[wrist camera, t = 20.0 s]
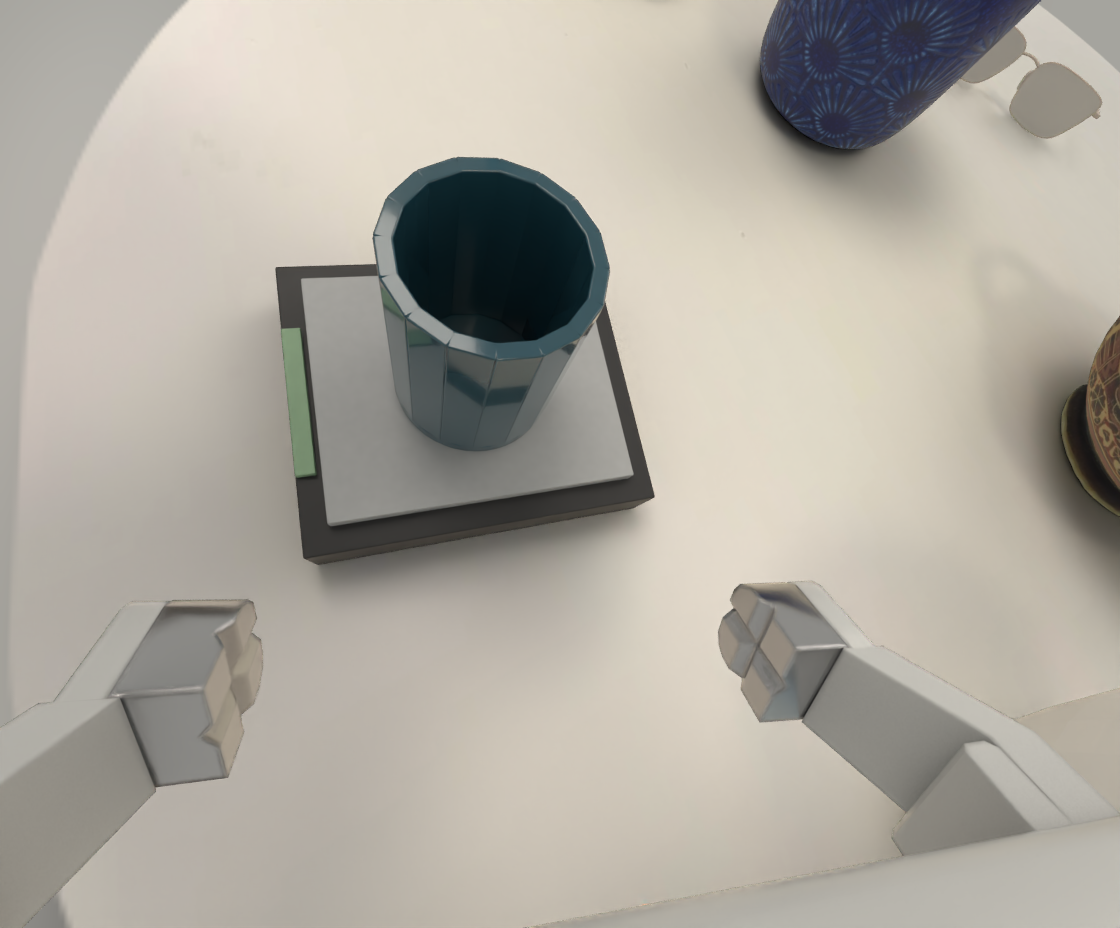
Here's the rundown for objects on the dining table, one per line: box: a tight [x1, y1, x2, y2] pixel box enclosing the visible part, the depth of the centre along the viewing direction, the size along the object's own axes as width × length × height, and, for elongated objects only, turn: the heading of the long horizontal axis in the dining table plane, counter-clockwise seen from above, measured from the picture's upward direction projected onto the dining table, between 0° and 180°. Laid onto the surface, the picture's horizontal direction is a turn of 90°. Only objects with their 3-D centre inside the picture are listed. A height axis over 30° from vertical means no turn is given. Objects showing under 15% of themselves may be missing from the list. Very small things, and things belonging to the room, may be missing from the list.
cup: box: [373, 157, 610, 451], centre depth 17 cm, size 6×6×8 cm
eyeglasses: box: [960, 26, 1102, 138], centre depth 41 cm, size 14×8×4 cm, turn 58°
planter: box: [760, 0, 1041, 149], centre depth 31 cm, size 12×12×11 cm
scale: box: [275, 264, 654, 565], centre depth 23 cm, size 14×12×3 cm
